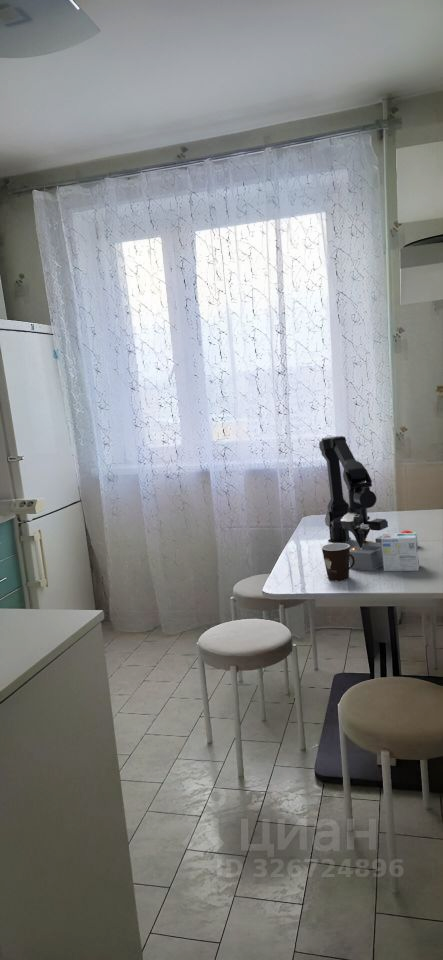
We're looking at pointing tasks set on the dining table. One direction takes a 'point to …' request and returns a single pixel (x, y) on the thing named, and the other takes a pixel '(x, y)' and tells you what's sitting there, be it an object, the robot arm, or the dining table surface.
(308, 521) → the dining table surface
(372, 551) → the mount
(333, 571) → the coffee mug
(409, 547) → the light bulb box
